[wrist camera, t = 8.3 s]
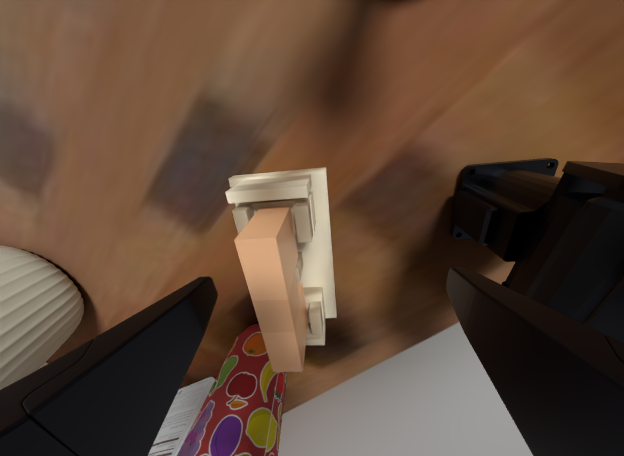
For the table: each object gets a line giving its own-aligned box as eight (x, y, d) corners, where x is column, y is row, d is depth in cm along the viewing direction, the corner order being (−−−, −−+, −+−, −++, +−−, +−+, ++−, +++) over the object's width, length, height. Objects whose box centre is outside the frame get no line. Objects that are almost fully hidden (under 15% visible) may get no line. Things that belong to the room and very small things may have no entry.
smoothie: (267, 366, 31) (181, 708, 13) (219, 334, 29) (35, 695, 11) (310, 342, 28) (276, 738, 10) (261, 304, 26) (104, 730, 8)
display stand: (325, 167, 18) (324, 181, 14) (336, 309, 25) (337, 346, 21) (234, 175, 19) (207, 190, 15) (268, 310, 26) (256, 346, 22)
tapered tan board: (290, 205, 17) (275, 237, 12) (308, 320, 22) (302, 371, 17) (259, 208, 17) (234, 240, 12) (284, 320, 22) (273, 371, 18)
